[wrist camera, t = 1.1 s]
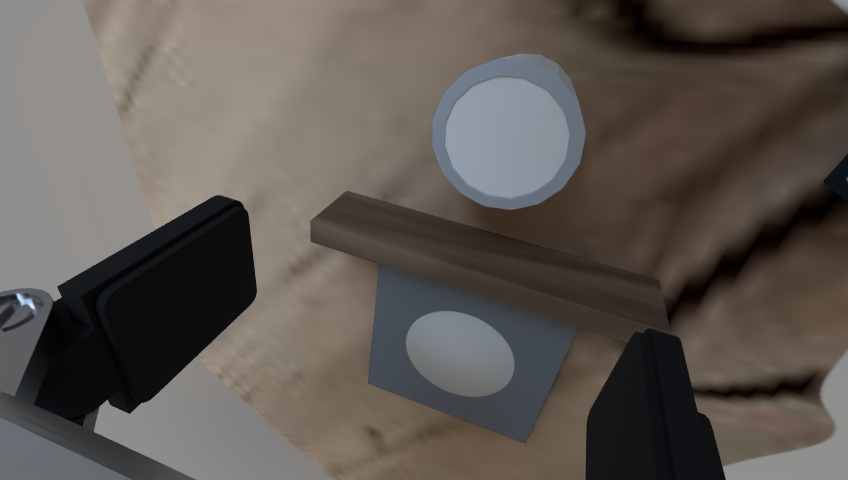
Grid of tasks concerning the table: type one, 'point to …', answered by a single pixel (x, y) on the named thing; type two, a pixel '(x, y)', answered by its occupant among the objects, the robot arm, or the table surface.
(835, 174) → the watch
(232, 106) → the table surface
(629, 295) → the divider wall
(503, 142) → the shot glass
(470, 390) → the mat
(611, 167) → the table surface
